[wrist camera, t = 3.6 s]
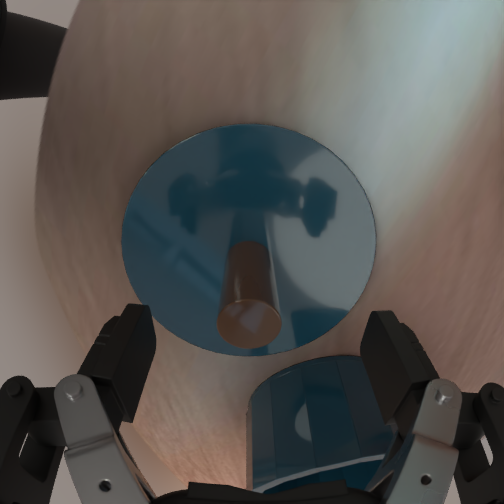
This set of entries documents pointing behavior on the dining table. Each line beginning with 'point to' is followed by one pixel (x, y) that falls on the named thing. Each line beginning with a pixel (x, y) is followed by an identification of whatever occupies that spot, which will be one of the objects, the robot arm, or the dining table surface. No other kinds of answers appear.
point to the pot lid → (248, 239)
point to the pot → (315, 427)
